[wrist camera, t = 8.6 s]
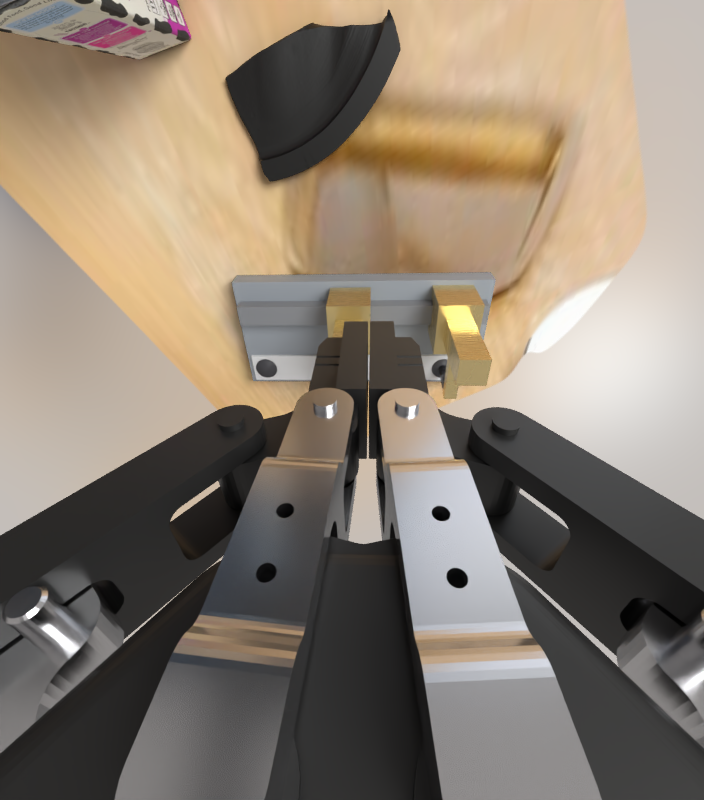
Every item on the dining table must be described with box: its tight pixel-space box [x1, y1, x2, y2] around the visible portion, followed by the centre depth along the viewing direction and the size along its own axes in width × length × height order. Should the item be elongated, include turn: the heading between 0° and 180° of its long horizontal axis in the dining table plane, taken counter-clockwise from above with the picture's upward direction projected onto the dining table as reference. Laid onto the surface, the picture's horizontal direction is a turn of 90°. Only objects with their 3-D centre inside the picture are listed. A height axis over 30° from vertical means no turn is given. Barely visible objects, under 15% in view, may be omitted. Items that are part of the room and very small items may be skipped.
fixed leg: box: [428, 285, 492, 399], centre depth 37 cm, size 10×4×12 cm, turn 2°
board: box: [232, 272, 496, 381], centre depth 42 cm, size 12×26×4 cm, turn 92°
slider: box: [326, 287, 371, 355], centre depth 37 cm, size 10×4×11 cm, turn 1°
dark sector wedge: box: [226, 9, 400, 182], centre depth 31 cm, size 8×14×2 cm, turn 112°
